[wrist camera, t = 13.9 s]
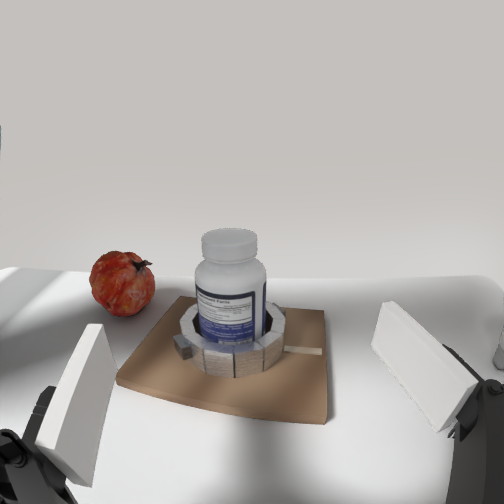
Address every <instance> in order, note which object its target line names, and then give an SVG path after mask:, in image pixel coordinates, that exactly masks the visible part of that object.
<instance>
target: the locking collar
mask: <svg viewBox="0 0 504 504" xmlns="http://www.w3.org/2000/svg"><path fill="white" fill-rule="evenodd" d="M285 318H286V311H285V310H284V309H282V308H281V307H279V306H278V305H276V304H275V303H272V304H271V303H269V302H266V310H265V333H266V334H265V335H264V336H262V337H261V338H260V339H258V340H257V341H253V342H249V343H244V344H238V345H227V344H220V343H214V342H210V341H208V340H207V339H205V338H203V337H202V336H200V334H201V332H200V324H199V315H198V305H197V304H195V305H193V306H191V307H189V308H188V310H187V311H186V313H185V314H184V315H183V317H182V318H181V319H180V326H181V332H182V334H179V335H176V336H173V341H174V346H175V349H176V351H177V352H178V354H179V355H180V356H181V358H182V359H183V361H184V360H187V359H188V361H189V362H190V363H191V364H193V365H194V366H196V367H197V368H198V369H200V370H201V371H202V372H204V373H206V372H207V374H209V375H214V376H220V377H226V378H232V379H234V376H235V378H236V379H237V378H242V377H246V376H251V375H255V374H259V373H262V371H264V372H265V371H266V370H267V369H268V368H270V367H271V366H272V365H273V364H274V363H276V362H277V361H278V360H279V359H280V357H281V355H282V349H283V342H284V331H285Z"/></svg>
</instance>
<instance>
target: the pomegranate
mask: <svg viewBox="0 0 504 504" xmlns="http://www.w3.org/2000/svg"><path fill="white" fill-rule="evenodd" d="M151 264H152V263H150V262H148V261H146V260H144V261H143V260H142V259H141V258H140V257H139V256H137V255H136V254H135V253H133V252H125V253H122V252H119V251H111V252H108V253H107V254H105V255H103V256H101V257H100V258H99V259H98V260H97V261H96V263H95V264H94V265H93V268H92V271H91V275H90V277H89V282H90V285H91V287H92V294H93V297H94V298H95V300H96V301H97V302H99V303H100V304H101V305H102V306H103V307H105V308H106V309H107V310H108V311H109V312H110V313H111V314H112V315H114V316H118V317H121V316H130V315H134V314H136V313H137V312H139V311H140V310H141V308H142V307H144V306H145V305H147V304H148V303H149V302H150V301H151V299H152V298H153V295H154V291H155V281H154V275H153V274H152V272H151V270H150V269H149V268H147V267H146V265H151Z"/></svg>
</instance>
